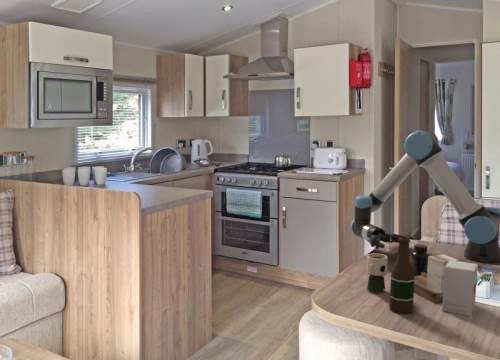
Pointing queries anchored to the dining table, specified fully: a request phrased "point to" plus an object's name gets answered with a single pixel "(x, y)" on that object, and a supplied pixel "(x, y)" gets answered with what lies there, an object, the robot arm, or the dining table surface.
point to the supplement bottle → (419, 259)
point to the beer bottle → (402, 280)
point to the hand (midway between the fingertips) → (403, 247)
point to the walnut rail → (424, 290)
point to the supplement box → (459, 287)
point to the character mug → (376, 271)
